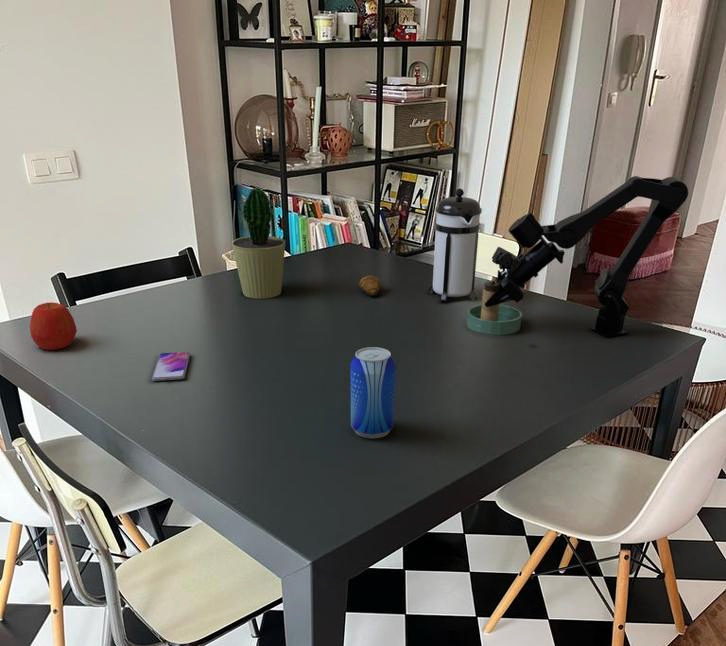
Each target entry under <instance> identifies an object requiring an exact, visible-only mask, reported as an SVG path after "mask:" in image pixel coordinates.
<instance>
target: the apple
mask: <svg viewBox="0 0 726 646" xmlns="http://www.w3.org/2000/svg"><path fill="white" fill-rule="evenodd" d="M29 332H30V337H31V339H32V340H33V343H34V344H35V345H36V346H37V347H39V348H40V349H41V350H47V351H58V350H60V349H64V348H67V347H68V346H71V345H72V344H73V342H74V339H75V337H76V335H77V332H78V330H77V326H76V322H75V319H74V317H73V315H72V314H71V312H70V311H69V309H68V308H67V307H66V306H65V305H64V304H61V303H59V302H52V301H50V302H43V303H41V304H38V305H36V307H34V308H33V309H32V313H31V317H30V322H29Z"/></svg>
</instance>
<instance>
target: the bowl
mask: <svg viewBox="0 0 726 646" xmlns="http://www.w3.org/2000/svg"><path fill="white" fill-rule="evenodd" d="M481 307H482V304H478V305H474V306H471V307H470V308H468V310H467V312H466V313H467V314H466V315H467V316H466V326H467V328H468V329H470V330H471V331H473V332H476V333H479V334H484V335H490V336H503V335H512V334H515V333H518V331H520V330H521V326H522V319H523V318H522V317H523V312H522V311H521V310H519V309H517V308H515V307H512V306H509V305H504V304H500V306H499V315H498V321H488V320H482V319H480V318H481Z"/></svg>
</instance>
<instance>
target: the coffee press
mask: <svg viewBox="0 0 726 646" xmlns="http://www.w3.org/2000/svg"><path fill="white" fill-rule="evenodd" d="M464 194H465V192H464V190H463V188H457V189H456V190H455V195H456V196H449V197H444V198H442V199H441V200H440V201H439V202H438V204H437V206H436V207H435V209H434V211H435V213H436V215H435V216H436V218H435V221H434V230H435V234H434V235H435V236H434V253H433V254H434V255H433V270H432V271H433V273H432V284H431V286H430V287H429V289H428V293H429V294H430V295H431V294H432V295H433V294H434V293H436V294H438V295H439V296H441V298H440V303H443V304H447V302H448V299H449V298H450V297H451V298H458V297H459V298H460V297H465V296H466V297H468V298H470V300H471V301H475V300H477V299H478V295H477V293H476V291H475V281H476V271H477V269H476V268H477V257H478V245H479V231H480V229H481V222H480V220H481V214H482V213H483V209H482V207H481V204H480V203H479V202H478V200H476V199H474V198H471V197H466V196H464ZM432 290H433V291H432ZM472 294H473V295H474V297H473V296H472Z"/></svg>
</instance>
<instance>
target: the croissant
mask: <svg viewBox="0 0 726 646" xmlns="http://www.w3.org/2000/svg"><path fill="white" fill-rule="evenodd" d="M358 286H359V288H360V290H361V291H362V292H363V293H365V294H366V295H367V296H369V297H372V298H374V297H376V296H377V295H378V293H379V292H380V290H381V287H382V282H381V280H380V278H379V277H378V276H375V275H371V274H369V275H366V276H363V277H362V278H361V279H360V281H359V283H358Z"/></svg>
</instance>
